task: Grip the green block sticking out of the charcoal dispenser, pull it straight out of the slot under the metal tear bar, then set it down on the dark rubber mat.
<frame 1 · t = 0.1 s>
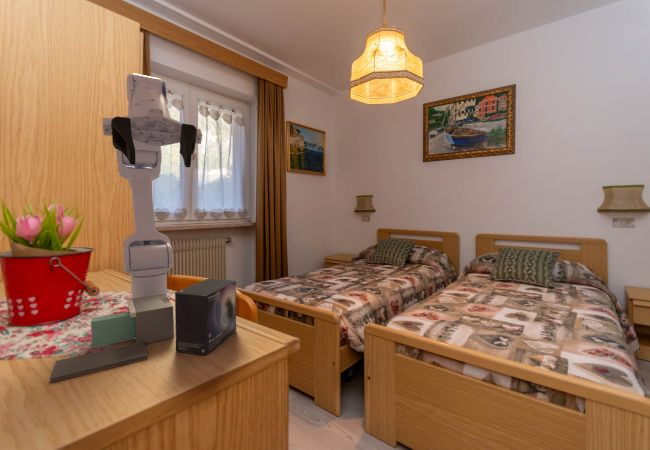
hand: (161, 160, 48), 32 cm above the table, tool tilted 50°, fingers open, 7 cm apart
small box: (208, 342, 58), on the table
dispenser: (153, 332, 61), on the table
mat: (102, 361, 50), on the table
green block: (125, 339, 59), on the table
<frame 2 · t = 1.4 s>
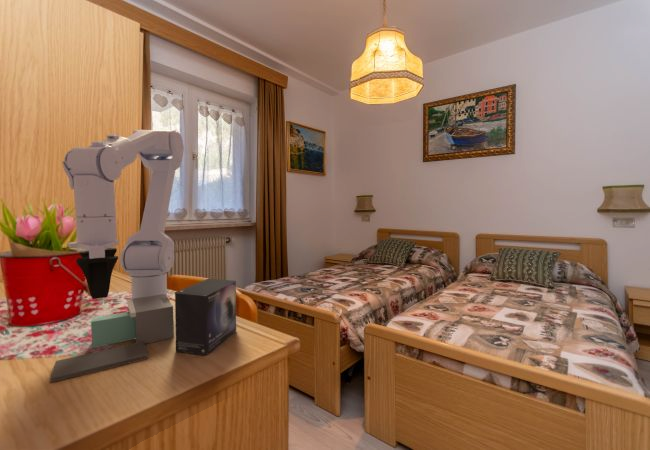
hand: (100, 292, 56), 9 cm above the table, tool pointing down, fingers open, 7 cm apart
nothing on the table moved.
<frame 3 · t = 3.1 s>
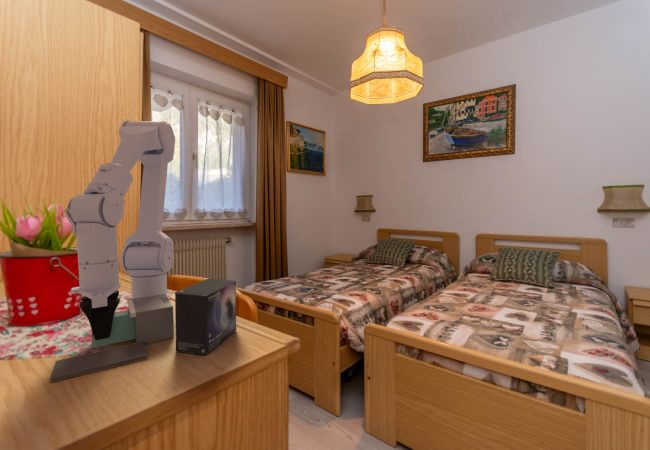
hand: (102, 335, 56), 1 cm above the table, tool pointing down, fingers closed on green block, 2 cm apart
green block: (126, 338, 59), on the table, touching gripper
everything else where it was.
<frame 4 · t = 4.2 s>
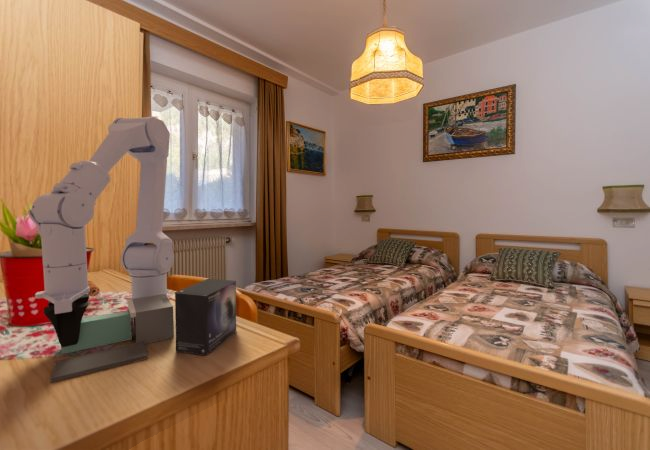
hand: (70, 341, 54), 1 cm above the table, tool pointing down, fingers closed on green block, 2 cm apart
green block: (98, 343, 56), on the table, touching gripper
everything else where it was.
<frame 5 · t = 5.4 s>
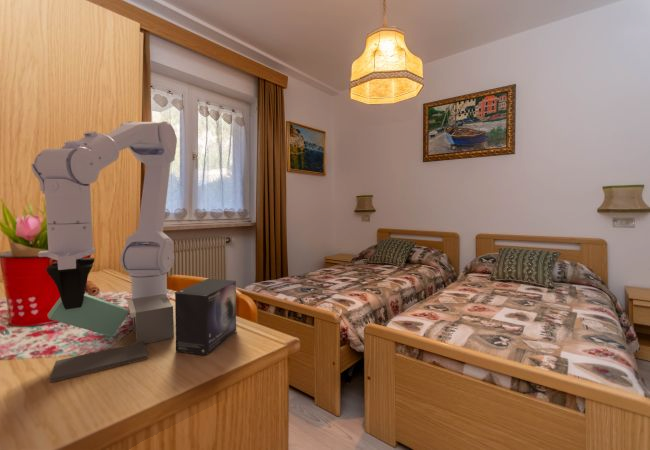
hand: (74, 304, 52), 8 cm above the table, tool pointing down, fingers closed on green block, 3 cm apart
green block: (81, 326, 53), point 5 cm above the table, tilted 34°, touching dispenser, gripper
everything else where it was.
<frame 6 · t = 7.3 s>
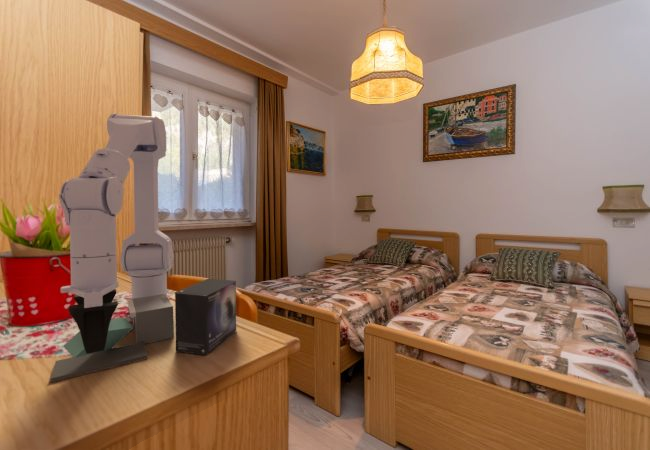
hand: (96, 343, 48), 4 cm above the table, tool pointing down, fingers closed on green block, 6 cm apart
green block: (89, 347, 49), point 2 cm above the table, tilted 47°, touching gripper, mat
everything else where it was.
when the fingers open (4 cm above the table, at t = 8.2 s): green block drops 1 cm and tips over, resting on mat.
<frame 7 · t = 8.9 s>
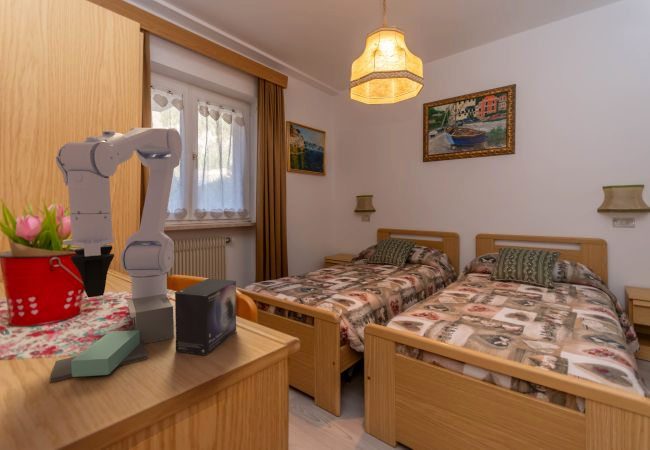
hand: (96, 290, 55), 10 cm above the table, tool pointing down, fingers open, 7 cm apart
green block: (92, 352, 49), point 2 cm above the table, tilted 90°, touching mat
everything else where it was.
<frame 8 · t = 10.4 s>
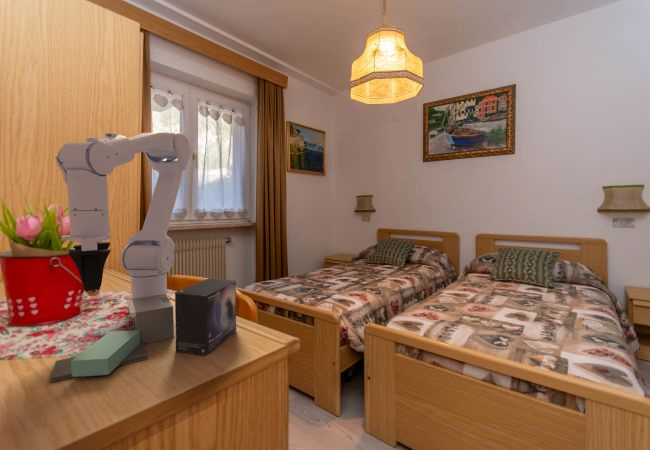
hand: (93, 285, 57), 10 cm above the table, tool pointing down, fingers open, 7 cm apart
nothing on the table moved.
at the end: green block inside the target area on the mat (1.2 cm from its centre), point 1.8 cm above the mat's base; green block touching mat; the gripper is holding nothing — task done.
